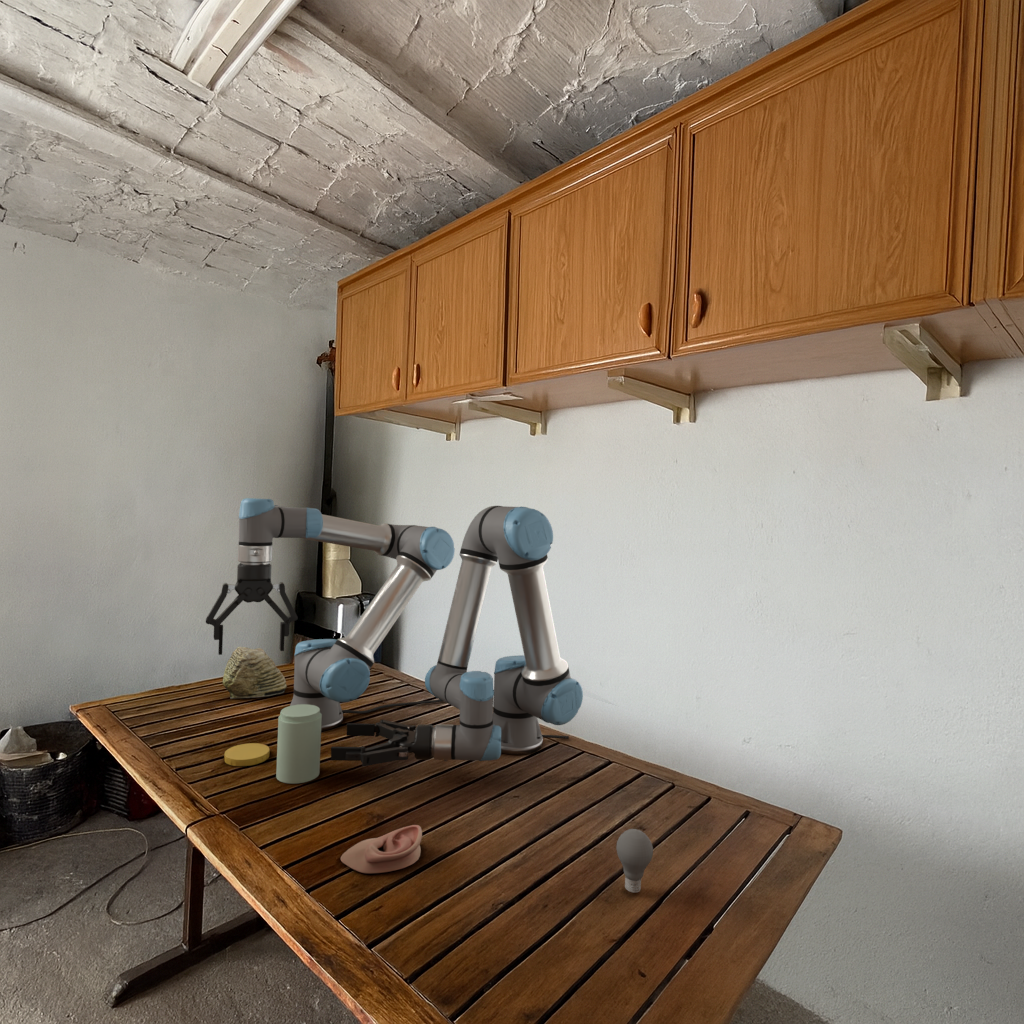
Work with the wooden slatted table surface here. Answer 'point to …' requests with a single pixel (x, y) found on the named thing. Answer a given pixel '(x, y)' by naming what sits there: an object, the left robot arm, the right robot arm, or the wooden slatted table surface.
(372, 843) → the anatomical model
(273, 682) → the fossil
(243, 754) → the lid
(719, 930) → the wooden slatted table surface
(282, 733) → the jar
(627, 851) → the light bulb
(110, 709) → the wooden slatted table surface
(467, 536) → the right robot arm
